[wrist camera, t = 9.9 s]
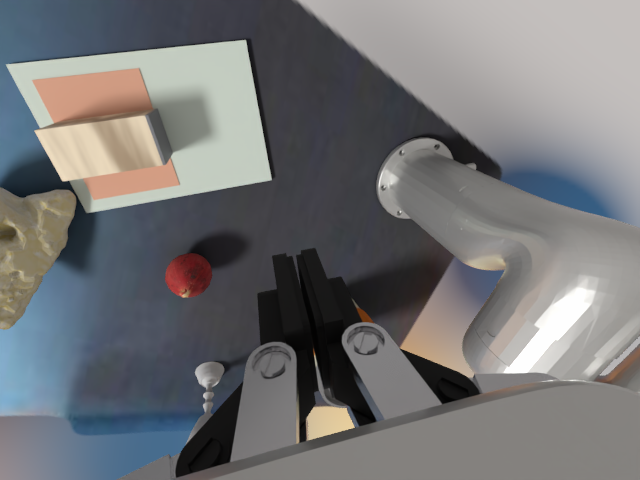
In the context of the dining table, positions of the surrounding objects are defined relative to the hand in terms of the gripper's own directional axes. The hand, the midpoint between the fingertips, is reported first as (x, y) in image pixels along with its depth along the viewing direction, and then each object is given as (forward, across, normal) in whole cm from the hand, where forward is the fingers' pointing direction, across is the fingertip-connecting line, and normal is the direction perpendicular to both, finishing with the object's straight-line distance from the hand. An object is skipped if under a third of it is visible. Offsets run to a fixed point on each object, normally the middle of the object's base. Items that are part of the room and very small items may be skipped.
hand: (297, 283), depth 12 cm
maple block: (+28, +11, -2) cm, 30 cm away
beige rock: (+31, +29, +9) cm, 44 cm away
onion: (+32, +13, +16) cm, 38 cm away
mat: (+31, +11, -2) cm, 33 cm away
